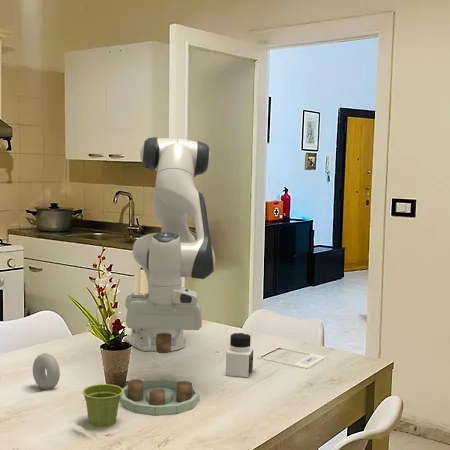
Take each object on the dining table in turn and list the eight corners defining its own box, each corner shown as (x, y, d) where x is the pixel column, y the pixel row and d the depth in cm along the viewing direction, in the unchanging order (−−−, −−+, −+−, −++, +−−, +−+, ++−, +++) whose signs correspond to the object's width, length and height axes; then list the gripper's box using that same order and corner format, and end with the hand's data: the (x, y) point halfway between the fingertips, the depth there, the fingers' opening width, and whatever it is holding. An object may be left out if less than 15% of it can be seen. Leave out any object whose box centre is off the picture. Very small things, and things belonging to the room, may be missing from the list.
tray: (105, 402, 169) (105, 390, 169) (164, 385, 183) (165, 374, 183) (153, 426, 155) (153, 413, 155) (213, 405, 169) (214, 393, 169)
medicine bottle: (248, 377, 192) (250, 338, 190) (225, 375, 193) (226, 336, 192) (252, 370, 199) (254, 332, 197) (229, 368, 200) (231, 330, 199)
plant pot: (85, 417, 159) (85, 383, 158) (123, 418, 159) (124, 383, 159) (79, 434, 149) (79, 397, 149) (120, 434, 150) (121, 398, 149)
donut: (62, 392, 175) (62, 356, 174) (51, 395, 173) (51, 359, 172) (40, 383, 182) (40, 348, 180) (29, 386, 179) (29, 351, 178)
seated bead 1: (124, 398, 169) (124, 381, 169) (136, 394, 172) (137, 378, 171) (133, 402, 166) (134, 385, 166) (146, 399, 169) (146, 382, 169)
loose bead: (176, 397, 171) (177, 380, 171) (192, 397, 171) (192, 381, 171) (175, 402, 167) (176, 385, 167) (191, 403, 167) (191, 386, 167)
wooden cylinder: (155, 353, 172) (155, 336, 172) (157, 348, 176) (157, 332, 176) (170, 353, 172) (170, 337, 172) (171, 349, 176) (172, 333, 176)
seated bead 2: (145, 408, 163) (145, 391, 162) (158, 404, 166) (158, 387, 165) (155, 413, 160) (156, 395, 159) (168, 409, 163) (168, 391, 162)
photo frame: (307, 367, 201) (257, 356, 211) (307, 370, 201) (257, 359, 211) (326, 356, 213) (278, 346, 223) (326, 359, 213) (278, 349, 223)
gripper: (123, 295, 170) (123, 347, 171) (202, 297, 170) (200, 349, 171) (127, 290, 176) (126, 340, 177) (202, 292, 176) (201, 342, 177)
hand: (163, 344), depth 174 cm, fingers closed on wooden cylinder, 4 cm apart
